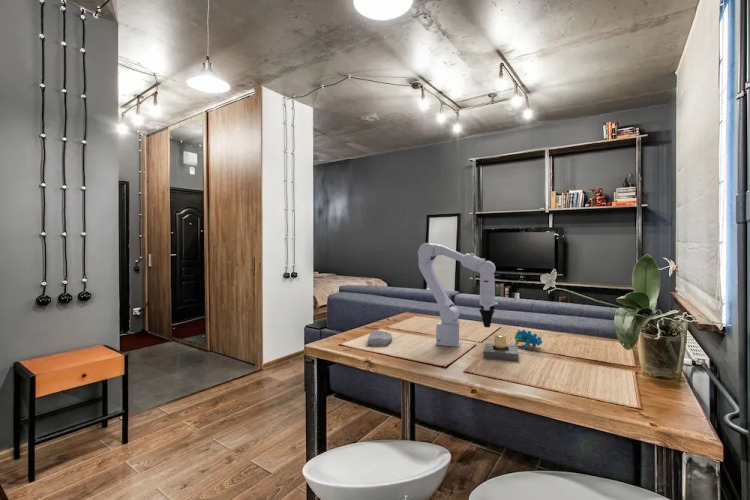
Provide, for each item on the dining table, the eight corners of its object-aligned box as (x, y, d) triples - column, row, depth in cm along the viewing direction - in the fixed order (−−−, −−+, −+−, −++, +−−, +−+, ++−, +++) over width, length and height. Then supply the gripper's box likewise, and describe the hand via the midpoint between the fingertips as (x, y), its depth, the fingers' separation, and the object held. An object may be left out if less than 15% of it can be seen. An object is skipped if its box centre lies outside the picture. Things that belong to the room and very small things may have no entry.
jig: (483, 358, 132) (483, 351, 132) (484, 348, 144) (484, 342, 144) (518, 361, 128) (518, 354, 128) (517, 351, 140) (517, 345, 140)
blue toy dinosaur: (547, 344, 144) (535, 328, 140) (543, 356, 141) (530, 341, 137) (522, 342, 153) (510, 327, 149) (517, 353, 150) (505, 339, 146)
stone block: (391, 343, 161) (369, 338, 162) (393, 332, 160) (371, 327, 162) (389, 352, 149) (366, 346, 150) (391, 340, 149) (368, 335, 150)
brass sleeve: (495, 356, 135) (495, 337, 135) (494, 352, 139) (494, 334, 138) (506, 356, 134) (506, 338, 134) (505, 353, 138) (505, 335, 137)
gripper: (497, 294, 136) (497, 329, 136) (498, 289, 149) (498, 321, 150) (478, 293, 138) (478, 328, 138) (480, 288, 152) (480, 320, 152)
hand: (487, 325), depth 144 cm, fingers open, 7 cm apart
